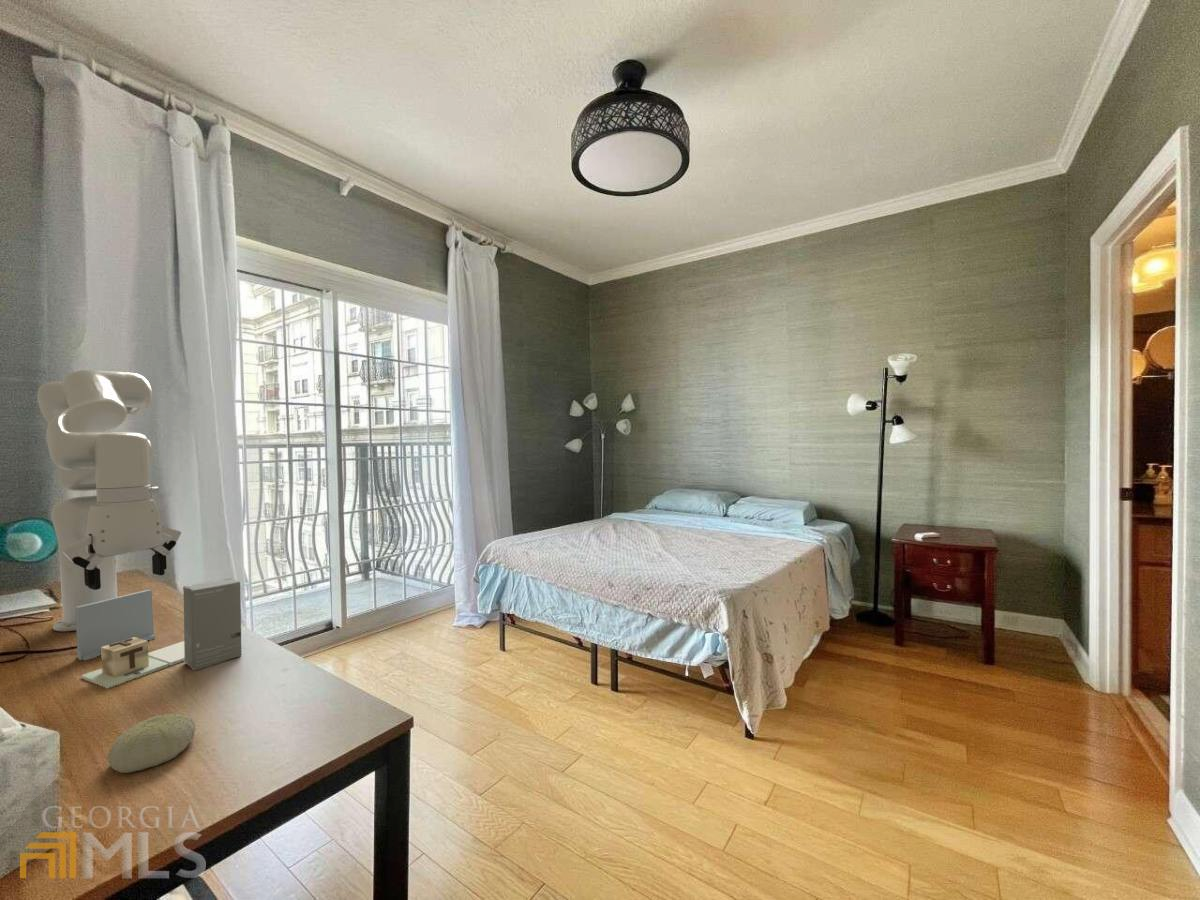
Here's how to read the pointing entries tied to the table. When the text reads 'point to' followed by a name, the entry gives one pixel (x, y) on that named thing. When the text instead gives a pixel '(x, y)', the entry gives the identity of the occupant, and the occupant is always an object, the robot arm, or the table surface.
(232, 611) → the skincare box
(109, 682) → the pad
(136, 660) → the letter cube
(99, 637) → the screen
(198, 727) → the table surface
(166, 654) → the pad
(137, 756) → the sea urchin shell
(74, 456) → the robot arm
